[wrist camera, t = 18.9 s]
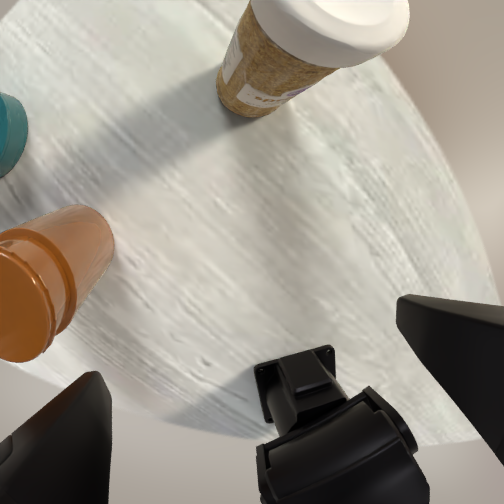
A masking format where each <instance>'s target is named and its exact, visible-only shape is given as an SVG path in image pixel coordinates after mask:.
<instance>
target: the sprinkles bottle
mask: <svg viewBox="0 0 504 504" xmlns="http://www.w3.org/2000/svg"><path fill="white" fill-rule="evenodd" d="M408 23H409V5H408V0H250V1H249V4H248V6H247V8H246V10H245V12H244V13H243V15H242V16H241V18H240V20H239V22H238V25H237V27H236V29H235V32H234V34H233V37H232V39H231V42H230V44H229V47H228V49H227V52H226V55H225V58H224V61H223V65H222V67H221V68H220V70H219V72H218V75H217V80H216V86H217V93H218V95H219V97H220V99H221V101H222V103H223V104H224V105H225V106H226V107H227V108H228V109H229V110H231V111H232V112H234V113H237V114H238V115H242V116H245V117H260V116H264V115H268V114H270V113H271V112H273V111H275V110H276V109H277V108H278V107H279V106H280V105H281V104H283V103H285V102H287V101H289V100H290V99H292V98H293V97H295V96H296V95H298V94H300V93H301V92H303V91H305V90H306V89H308V88H309V87H311V86H313V85H315V84H316V83H318V82H319V81H320V80H322V79H323V78H324V77H326V76H327V75H330V74H331V73H333V72H334V71H336V70H338V69H340V68H346V67H353V66H356V65H359V64H361V63H364V62H366V61H368V60H370V59H372V58H374V57H376V56H378V55H380V54H382V53H384V52H386V51H388V50H389V49H391V48H392V47H394V46H395V45H396V44H397V43H398V42H399V41H400V40H401V39H402V38H403V36H404V34H405V33H406V30H407V28H408Z"/></svg>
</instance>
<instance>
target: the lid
mask: <svg viewBox="0 0 504 504" xmlns="http://www.w3.org/2000/svg"><path fill="white" fill-rule="evenodd" d="M27 132H28V123H27V117H26V113H25V110H24V108H23V106H22V104H21V103H20V102H19V101H18V100H17V99H16V98H14V97H12V96H10V95H7V94H4V93H1V92H0V177H2V176H4V175H5V174H7V173H8V172H9V171H10V170H11V169H12V168H13V167H14V166H15V164H16V163H17V162H18V160H19V158H20V157H21V154H22V152H23V150H24V147H25V143H26V139H27Z"/></svg>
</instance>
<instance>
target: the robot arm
mask: <svg viewBox="0 0 504 504" xmlns="http://www.w3.org/2000/svg"><path fill="white" fill-rule="evenodd" d="M396 324H397V327H398V329H399V331H400V332H401V334H402V335H403V336H404V338H405V339H406V341H407V342H408V344H409V345H410V347H411V348H412V350H413V351H414V353H415V354H416V356H417V357H418V358H419V360H420V361H421V362H422V364H423V365H424V366H425V367H426V369H427V370H428V371H429V372H430V373H431V375H432V376H433V377H434V378H435V379H436V380H437V382H438V383H439V384H440V385H441V386H442V388H443V389H444V390H445V391H446V393H447V394H448V395H449V396H450V397H451V399H452V400H453V401H454V402H455V404H456V405H457V406H458V407H459V409H460V410H461V411H462V412H463V414H464V415H465V416H466V417H467V419H468V420H469V421H470V422H471V424H472V425H473V426H474V427H475V429H476V430H477V431H478V433H479V434H480V435H481V436H482V438H483V439H484V440H485V442H486V443H487V444H488V445H489V447H490V448H491V449H492V451H493V452H494V453H495V455H496V456H497V458H498V459H499V460H500V462H501V463H502V464H503V466H504V306H497V305H489V304H481V303H473V302H465V301H457V300H450V299H442V298H435V297H427V296H420V295H413V294H407V295H405V296H402V297H399V298H398V300H397V307H396ZM328 350H330V351H329V352H327V351H328ZM326 352H327V353H326ZM260 369H263V370H262V371H261V372H259V370H260ZM254 374H255V379H256V384H257V388H258V393H259V397H260V402H261V406H262V411H263V415H264V419H265V422H266V423H275V426H276V429H277V431H278V434H279V436H280V437H279V438H277V439H275V440H273V441H271V442H268V443H266V444H261V445H259V446H257V447H256V451H257V456H256V462H257V475H258V486H259V491H260V493H261V497H260V501H261V503H262V504H429V501H430V487H429V484H428V483H427V481H426V478H425V476H424V474H423V472H422V470H421V469H420V467H419V465H418V464H417V462H416V460H415V459H414V457H413V454H414V453H415V452H417V451H418V446H417V443H416V440H415V438H414V436H413V434H412V432H411V430H410V429H409V427H408V425H407V424H406V422H405V421H404V420H403V418H402V417H401V416H400V414H399V413H398V412H397V411H396V410H395V409H394V408H393V407H392V406H391V405H390V404H389V403H388V402H387V401H385V400H384V399H383V398H382V397H381V396H380V395H379V394H378V393H377V392H375V391H374V390H373V389H372V388H371V387H370V386H368V387H366V388H365V389H363V390H362V392H361V393H359V394H358V395H356V396H354V397H353V398H351V399H349V398H348V396H347V395H346V393H345V392H344V391H343V389H342V388H341V386H340V385H339V383H338V382H337V381H336V372H335V350H334V348H333V347H332V346H331V345H325V346H321V347H318V348H315V349H311V350H307V351H303V352H300V353H297V354H293V355H289V356H286V357H282V358H280V359H276V360H272V361H268V362H265V363H261V364H258V365H256V366H255V367H254ZM271 417H272V418H271ZM111 451H112V398H111V394H110V392H109V390H108V388H107V386H106V384H105V382H104V379H103V377H102V375H101V374H100V373H99V372H98V371H91V372H85V373H84V374H83V375H81V376H80V377H79V378H78V379H77V380H75V381H74V382H73V383H72V384H71V385H69V386H68V387H67V388H66V389H64V390H63V391H62V392H61V393H60V394H58V395H57V396H56V397H55V398H54V399H52V400H51V401H50V402H49V403H48V404H46V405H45V406H44V407H43V408H42V409H40V410H39V411H38V412H37V413H36V414H34V415H33V416H32V417H31V418H30V419H28V420H27V421H26V422H25V423H24V424H22V425H21V426H20V427H19V428H18V429H17V430H15V431H14V432H13V433H12V435H9V436H8V437H7V438H6V439H4V440H3V441H2V442H1V443H0V504H108V499H109V497H108V496H109V479H110V464H111Z"/></svg>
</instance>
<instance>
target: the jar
mask: <svg viewBox="0 0 504 504" xmlns="http://www.w3.org/2000/svg"><path fill="white" fill-rule="evenodd" d="M113 253H114V239H113V234H112V231H111V229H110V227H109V225H108V223H107V221H106V220H105V219H104V217H103V216H102V215H101V214H100V213H98V212H97V211H96V210H94V209H92V208H90V207H88V206H84V205H78V204H76V205H69V206H66V207H63V208H61V209H58V210H55V211H53V212H50V213H48V214H45V215H42V216H40V217H37V218H35V219H33V220H30V221H28V222H25V223H23V224H20V225H18V226H16V227H13V228H11V229H9V230H7V231H4V232H3V233H1V234H0V358H1V359H3V360H6V361H9V362H15V363H23V362H28V361H30V360H33V359H35V358H36V357H38V356H39V355H40V354H41V353H44V352H45V351H46V350H47V348H48V347H49V346H50V345H51V344H52V341H53V339H54V337H55V336H56V335H58V334H59V333H61V332H62V331H63V330H64V329H65V328H66V327H67V326H68V325H69V324H70V322H71V321H72V319H73V317H74V316H75V314H76V313H77V311H78V310H79V308H80V307H81V305H82V304H83V302H84V301H85V300H86V298H87V297H88V295H89V294H90V292H91V291H92V289H93V288H94V286H95V285H96V284H97V282H98V281H99V279H100V278H101V277H102V275H103V274H104V272H105V271H106V270H107V268H108V266H109V265H110V263H111V261H112V257H113Z"/></svg>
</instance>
